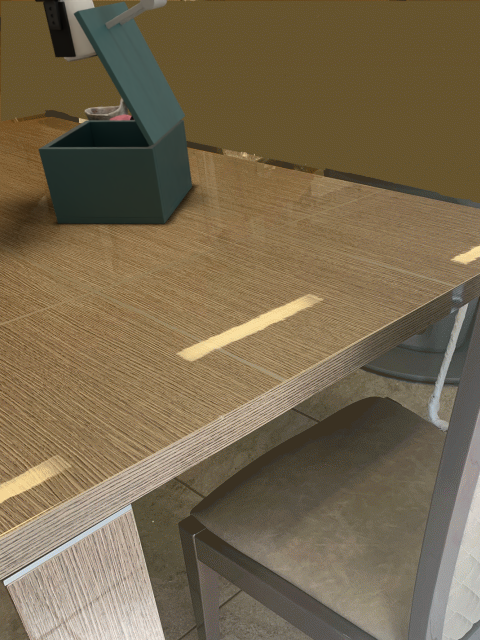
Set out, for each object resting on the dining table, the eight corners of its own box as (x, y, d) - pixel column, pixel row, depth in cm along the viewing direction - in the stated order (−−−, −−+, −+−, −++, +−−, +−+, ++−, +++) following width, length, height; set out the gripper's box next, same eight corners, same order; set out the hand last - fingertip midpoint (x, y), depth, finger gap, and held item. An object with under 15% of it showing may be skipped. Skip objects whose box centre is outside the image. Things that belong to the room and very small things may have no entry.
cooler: (57, 223, 100) (38, 148, 94) (100, 186, 116) (85, 120, 110) (164, 223, 99) (152, 148, 93) (192, 186, 115) (183, 119, 109)
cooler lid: (73, 13, 83) (128, -21, 81) (120, 3, 99) (167, -26, 97) (149, 146, 93) (201, 119, 90) (181, 117, 109) (226, 94, 106)
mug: (94, 139, 146) (84, 90, 140) (150, 136, 148) (142, 88, 142) (88, 149, 139) (77, 98, 133) (147, 146, 140) (139, 95, 134)
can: (66, 60, 96) (32, -37, 89) (109, 50, 97) (78, -47, 90) (63, 63, 91) (26, -40, 84) (108, 53, 92) (75, -50, 85)
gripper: (33, -148, 88) (74, 46, 102) (-39, -170, 72) (21, 63, 86) (86, -150, 88) (120, 45, 101) (25, -172, 72) (75, 62, 86)
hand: (75, 53), depth 94 cm, fingers closed on can, 6 cm apart
